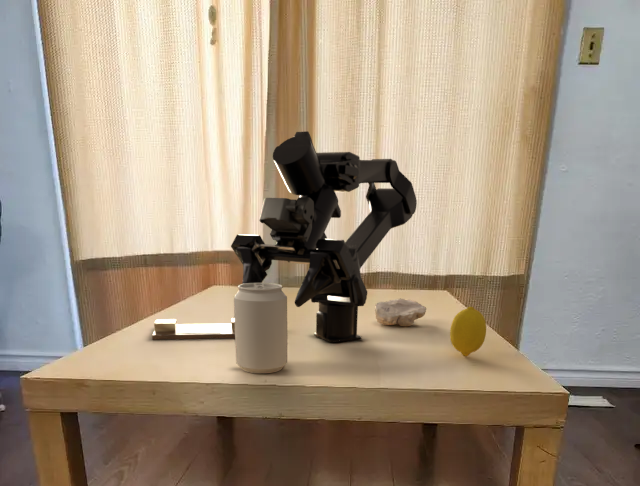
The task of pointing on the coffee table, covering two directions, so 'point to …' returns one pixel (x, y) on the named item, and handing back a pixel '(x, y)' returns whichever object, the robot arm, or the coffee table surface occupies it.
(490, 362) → the coffee table surface
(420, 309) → the whitish grey lumpy stone
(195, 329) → the word board
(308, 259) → the robot arm
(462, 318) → the lemon
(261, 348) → the can
